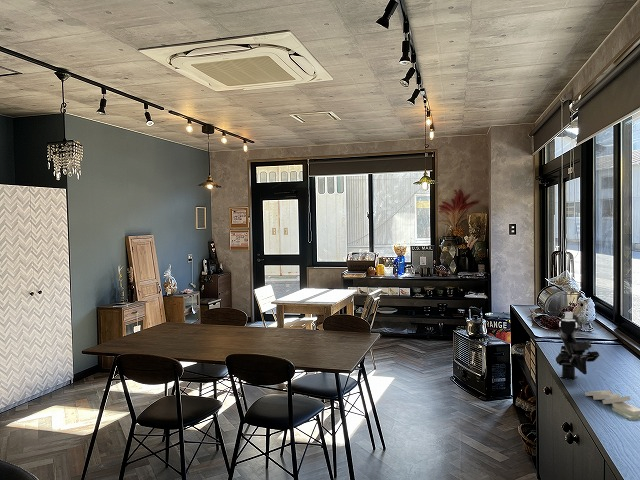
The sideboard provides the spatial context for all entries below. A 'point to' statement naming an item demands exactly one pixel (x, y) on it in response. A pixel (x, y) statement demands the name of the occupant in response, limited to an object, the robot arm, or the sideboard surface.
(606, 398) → the domino
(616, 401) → the domino
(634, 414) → the domino
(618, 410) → the domino
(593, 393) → the domino
